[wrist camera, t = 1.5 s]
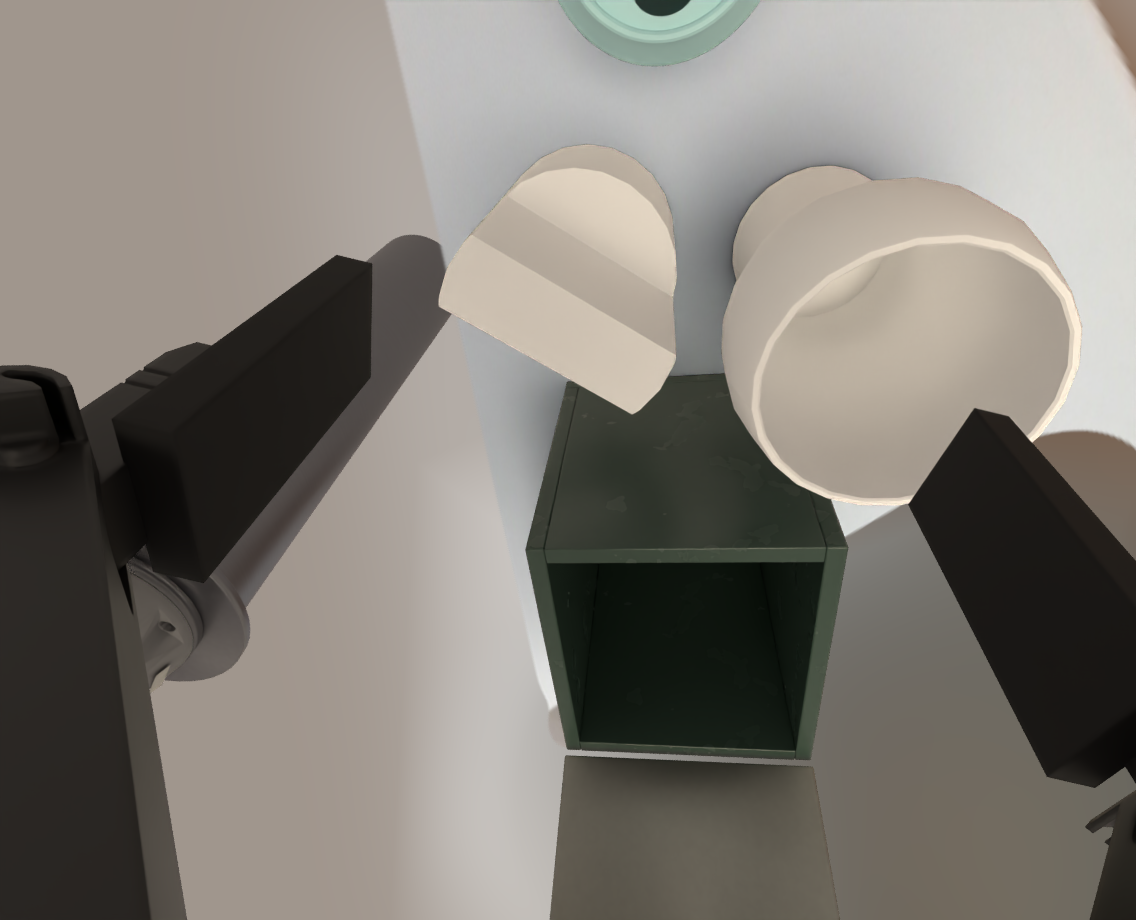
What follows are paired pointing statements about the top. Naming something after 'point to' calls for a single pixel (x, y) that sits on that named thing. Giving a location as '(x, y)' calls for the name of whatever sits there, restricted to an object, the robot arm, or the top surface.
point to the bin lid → (690, 842)
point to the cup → (888, 328)
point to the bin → (681, 580)
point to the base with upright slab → (577, 273)
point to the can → (657, 26)
